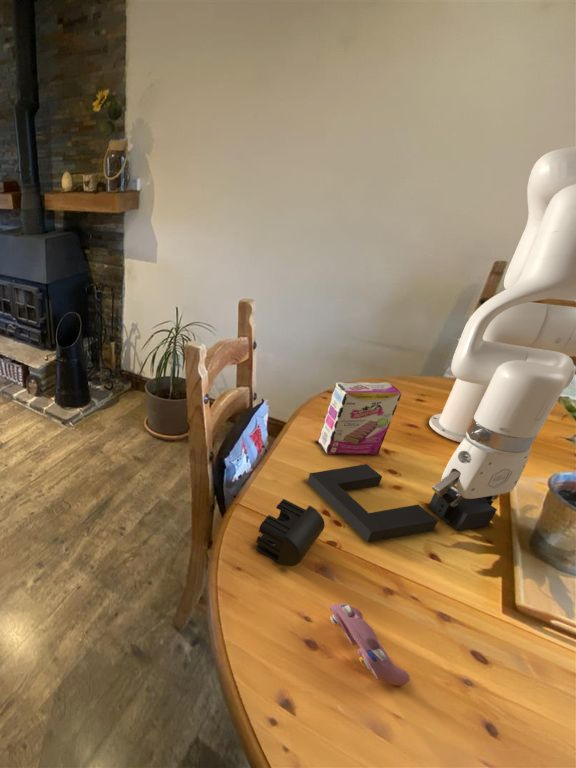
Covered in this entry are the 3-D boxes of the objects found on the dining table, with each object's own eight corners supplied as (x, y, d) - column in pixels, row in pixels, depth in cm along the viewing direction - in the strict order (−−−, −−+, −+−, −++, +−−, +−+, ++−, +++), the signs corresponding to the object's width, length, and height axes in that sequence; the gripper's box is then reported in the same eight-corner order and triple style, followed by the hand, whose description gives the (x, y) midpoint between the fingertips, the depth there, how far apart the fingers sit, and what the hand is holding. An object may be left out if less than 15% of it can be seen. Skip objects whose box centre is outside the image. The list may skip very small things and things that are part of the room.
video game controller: (330, 624, 62) (319, 600, 59) (359, 612, 62) (350, 587, 58) (379, 698, 54) (370, 674, 50) (415, 685, 53) (407, 661, 50)
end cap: (295, 576, 68) (304, 547, 65) (253, 550, 73) (259, 523, 70) (319, 542, 74) (328, 514, 70) (279, 520, 78) (286, 493, 75)
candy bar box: (327, 455, 94) (345, 392, 86) (317, 442, 98) (334, 381, 91) (380, 456, 93) (403, 392, 85) (368, 442, 97) (389, 381, 90)
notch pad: (363, 473, 88) (366, 463, 87) (433, 530, 74) (438, 520, 73) (307, 482, 87) (309, 473, 86) (367, 542, 73) (371, 532, 72)
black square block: (455, 502, 80) (463, 486, 78) (488, 525, 74) (497, 509, 73) (427, 507, 79) (435, 491, 77) (458, 531, 74) (467, 514, 72)
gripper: (477, 455, 64) (435, 538, 72) (572, 440, 66) (521, 522, 74) (431, 429, 71) (398, 507, 79) (519, 415, 72) (477, 493, 81)
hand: (458, 513), depth 76 cm, fingers closed on black square block, 6 cm apart
